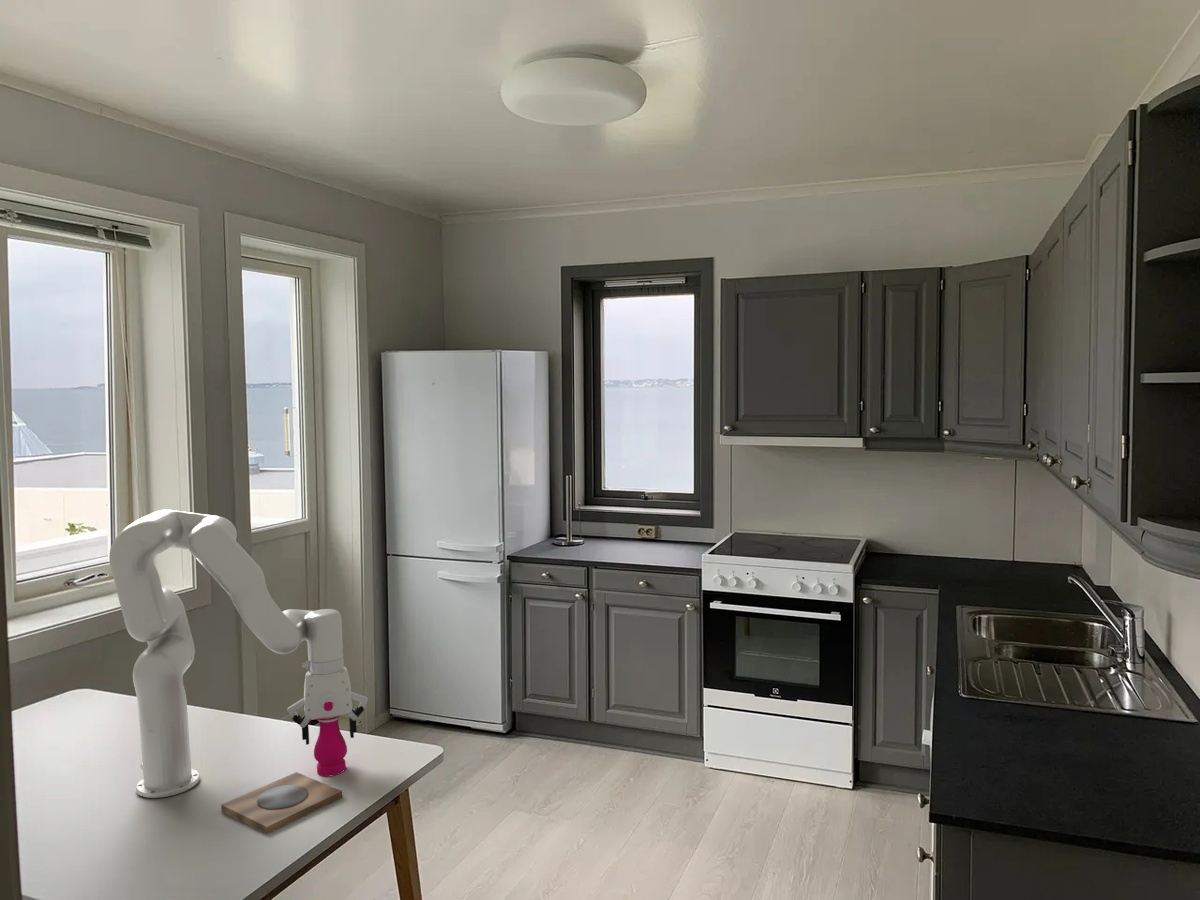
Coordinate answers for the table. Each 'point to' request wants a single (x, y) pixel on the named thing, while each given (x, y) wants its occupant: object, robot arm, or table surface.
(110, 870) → the table surface
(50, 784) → the table surface
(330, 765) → the pepper mill
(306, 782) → the walnut board
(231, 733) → the table surface
